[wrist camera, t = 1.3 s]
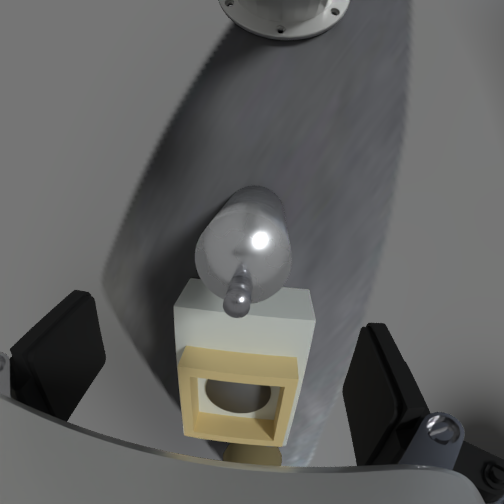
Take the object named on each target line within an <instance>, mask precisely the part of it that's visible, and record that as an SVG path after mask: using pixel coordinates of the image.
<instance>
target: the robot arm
mask: <svg viewBox="0 0 504 504" xmlns="http://www.w3.org/2000/svg"><path fill="white" fill-rule="evenodd" d="M218 1H219V3H220V5H221V7H222V9H223V11H224V12H225V13H226V15H227V16H228V17H229V18H230V19H231V20H232V21H233V22H234V23H235V24H237V25H238V26H240V27H241V28H243V29H244V30H246V31H248V32H251V33H253V34H255V35H258V36H262V37H266V38H269V39H277V40H300V39H305V38H310V37H313V36H316V35H319V34H322V33H324V32H325V31H327V30H329V29H331V28H332V27H333V26H334V25H336V24H337V23H338V22H339V21H340V20H341V18H342V17H343V16H344V14H345V12H346V10H347V8H348V7H349V3H350V0H218ZM229 5H233V6H230V7H228V6H229ZM332 13H334V14H335V15H336V16H335V15H332ZM278 31H283V33H281V34H280V33H278ZM10 351H11V354H12V357H11V358H10V359H9V357H8V356H7V354H4V353H3V352H0V504H504V460H503V459H501V458H499V457H497V456H494V455H492V454H490V453H488V452H486V451H484V450H482V449H480V448H478V447H476V446H474V445H472V444H469V443H467V442H465V441H463V440H464V434H465V432H464V428H463V426H462V424H461V423H460V421H458V419H456V418H455V417H453V416H452V415H450V414H447V413H444V412H435V413H430V411H429V409H428V407H427V405H426V402H425V401H424V398H423V396H422V394H421V392H420V390H419V388H418V386H417V383H416V381H415V379H414V377H413V375H412V373H411V371H410V369H409V367H408V365H407V364H406V362H405V361H404V359H403V357H402V355H401V353H400V351H399V350H398V348H397V346H396V344H395V342H394V340H393V338H392V336H391V334H390V332H389V331H388V328H387V327H386V325H385V324H383V323H368V324H367V326H366V327H362V328H361V331H360V334H359V337H358V341H357V344H356V347H355V351H354V354H353V357H352V360H351V363H350V367H349V370H348V373H347V376H346V379H345V382H344V385H343V398H344V402H345V407H346V412H347V416H348V422H349V426H350V431H351V436H352V442H353V447H354V452H355V457H356V463H357V466H349V467H288V466H268V465H255V464H244V463H235V462H227V461H219V460H212V459H205V458H199V457H193V456H187V455H182V454H177V453H172V452H167V451H163V450H158V449H154V448H150V447H146V446H142V445H138V444H134V443H130V442H126V441H123V440H120V439H116V438H113V437H110V436H106V435H103V434H100V433H97V432H94V431H91V430H88V429H85V428H82V427H79V426H77V425H74V424H71V423H69V422H67V421H68V419H69V417H70V416H71V414H72V413H73V411H74V410H75V408H76V406H77V405H78V403H79V402H80V400H81V399H82V397H83V396H84V394H85V393H86V391H87V389H88V388H89V386H90V385H91V383H92V382H93V380H94V379H95V377H96V376H97V374H98V373H99V371H100V370H101V369H102V367H103V365H104V364H105V360H106V355H105V350H104V346H103V342H102V336H101V332H100V327H99V322H98V316H97V310H96V305H95V300H94V298H93V297H91V294H90V293H89V292H85V291H79V290H74V291H73V292H72V293H70V294H69V295H68V296H67V297H66V298H65V299H64V300H63V301H61V302H60V303H59V304H58V305H57V306H56V307H54V308H53V309H52V310H51V311H50V312H49V313H48V314H47V315H46V316H44V317H43V318H42V319H41V320H40V321H39V322H38V323H37V324H36V325H35V326H34V327H32V328H31V329H30V330H29V332H27V333H26V334H25V335H24V336H23V337H22V338H21V339H20V340H19V341H18V342H17V343H16V344H15V345H14V346H13V347H12V348H10Z"/></svg>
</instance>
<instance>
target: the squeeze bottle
mask: <svg viewBox="0 0 504 504" xmlns="http://www.w3.org/2000/svg"><path fill="white" fill-rule="evenodd" d="M223 461H227V462H235V463H244V464H255V465H268V466H281V462H282V455H281V453H280V450H279V448H278V447H276V446H275V447H266V446H261V445H249V444H239V443H230V444H229V445H228V447H227V448H226V450H225V452H224V454H223Z"/></svg>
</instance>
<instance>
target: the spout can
mask: <svg viewBox="0 0 504 504" xmlns="http://www.w3.org/2000/svg"><path fill="white" fill-rule="evenodd" d="M195 264H196V269H197V272H198V274H199V276H200V279H201V280H202V282H203V283H204V285H205V286H206V287H207V288H208V289H209V290H210V291H211V292H212V293H214V294H215V295H216V296H218V297H220V298H221V299H224V302H223V309H224V311H225V313H226V314H227V315H229V316H230V317H233V318H242V317H244V316H246V315H247V314H248V312H249V310H250V304H253V303H258V302H261V301H264V300H266V299H268V298H270V297H271V296H273V295H274V294H276V293H277V292H278V291H279V290H280V289H281V288H282V287H283V285H284V284H285V282H286V280H287V279H288V276H289V274H290V270H291V265H292V256H291V248H290V242H289V236H288V230H287V224H286V218H285V212H284V207H283V204H282V202H281V200H280V199H279V197H278V196H277V195H276V194H275V193H274V192H273V191H271V190H269V189H268V188H265V187H262V186H247V187H244V188H242V189H240V190H238V191H237V192H235V193H234V194H233V195H232V196H231V198H230V199H229V200H228V201H227V203H226V204H225V205H224V206H223V207H222V209H221V210H220V211H219V212H218V214H217V215H216V216H215V217H214V219H213V220H212V221H211V222H210V224H209V225H208V226H207V227H206V229H205V230H204V231H203V233H202V234H201V236H200V238H199V240H198V242H197V245H196V249H195Z"/></svg>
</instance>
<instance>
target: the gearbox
mask: <svg viewBox="0 0 504 504" xmlns="http://www.w3.org/2000/svg"><path fill="white" fill-rule="evenodd" d="M223 302H224V299H221V298H220V297H218V296H216V295H215V294H214V293H212V292H211V291H210V290H209V289H208V288H207V287H206V286H205V285H204V283H203V282H202V280H201V279H195V278H190V279H189V281H188V283H187V284H186V286H185V288H184V289H183V291H182V293H181V294H180V296H179V298H178V299H177V301H176V303H175V304H174V327H175V344H176V358H177V371H178V383H179V394H180V404H181V413H182V421H183V430H184V435H185V436H189V437H195V438H201V439H208V440H215V441H222V442H230V443H239V444H249V445H261V446H266V447H275V446H276V447H282V446H286V443H287V440H288V436H289V432H290V429H291V425H292V421H293V417H294V414H295V410H296V406H297V402H298V398H299V394H300V390H301V386H302V381H303V377H304V373H305V368H306V364H307V360H308V355H309V351H310V346H311V341H312V337H313V332H314V327H315V322H316V319H315V315H314V310H313V305H312V301H311V296H310V292H309V289H297V288H286V287H282V288H281V289H280V290H279V291H278V292H277V293H276V294H274V295H273V296H271V297H270V298H268V299H266V300H264V301H261V302H258V303H253V304H250V310H249V312H248V314H247V315H246V316H244V317H242V318H233V317H230V316H229V315H227V314H226V313H225V311H224V309H223Z"/></svg>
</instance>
